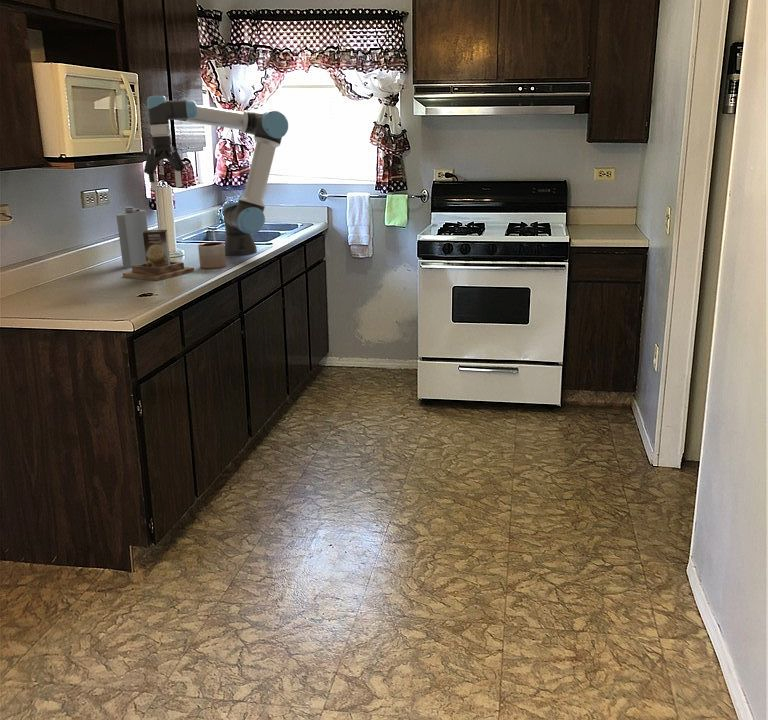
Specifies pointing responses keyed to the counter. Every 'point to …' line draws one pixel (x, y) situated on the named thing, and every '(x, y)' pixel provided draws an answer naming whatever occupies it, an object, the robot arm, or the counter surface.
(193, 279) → the counter surface
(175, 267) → the holder
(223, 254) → the planter
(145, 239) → the coffee box
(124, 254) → the flask
